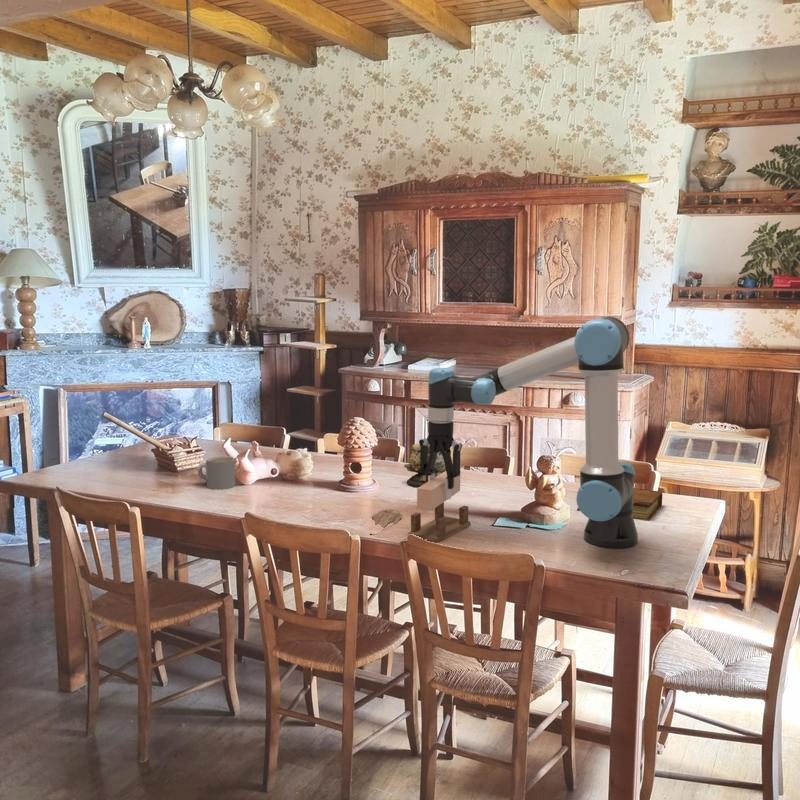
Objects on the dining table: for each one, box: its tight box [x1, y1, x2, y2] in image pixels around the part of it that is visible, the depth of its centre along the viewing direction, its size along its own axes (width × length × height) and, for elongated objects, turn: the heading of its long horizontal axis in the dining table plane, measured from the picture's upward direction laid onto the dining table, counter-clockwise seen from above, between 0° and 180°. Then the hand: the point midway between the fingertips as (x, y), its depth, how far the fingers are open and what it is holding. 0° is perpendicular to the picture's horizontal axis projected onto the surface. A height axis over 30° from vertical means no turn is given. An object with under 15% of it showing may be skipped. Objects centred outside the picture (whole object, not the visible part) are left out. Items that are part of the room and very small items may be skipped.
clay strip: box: [416, 471, 462, 511], centre depth 249 cm, size 4×24×6 cm, turn 156°
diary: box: [576, 487, 663, 522], centre depth 274 cm, size 23×19×6 cm
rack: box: [407, 501, 471, 543], centre depth 251 cm, size 10×20×6 cm, turn 147°
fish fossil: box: [370, 508, 402, 529], centre depth 259 cm, size 26×10×1 cm, turn 169°
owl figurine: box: [403, 443, 446, 489], centre depth 302 cm, size 18×12×17 cm, turn 75°
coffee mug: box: [197, 455, 236, 490], centre depth 302 cm, size 13×10×10 cm
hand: (439, 497), depth 250 cm, fingers closed on clay strip, 5 cm apart
